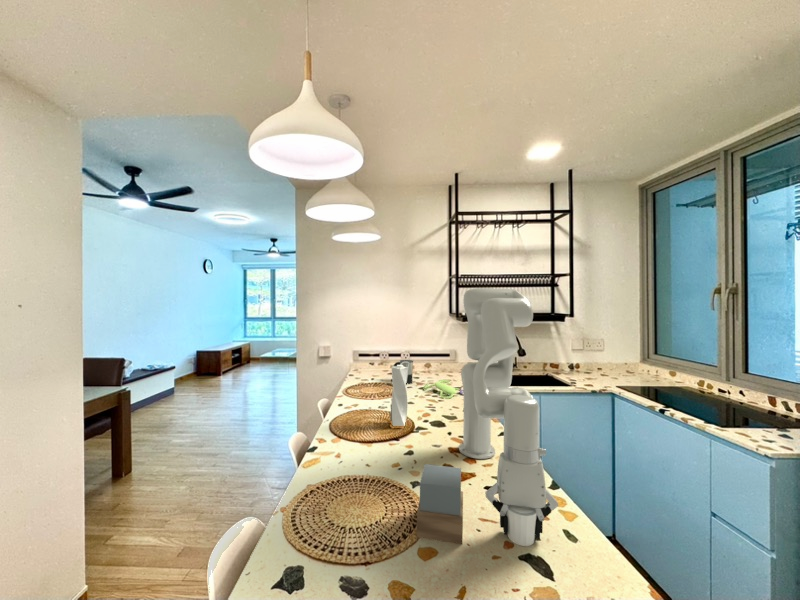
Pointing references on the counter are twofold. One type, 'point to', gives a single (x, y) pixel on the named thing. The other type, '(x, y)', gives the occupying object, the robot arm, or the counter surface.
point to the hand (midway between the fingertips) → (520, 531)
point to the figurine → (444, 388)
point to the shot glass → (521, 524)
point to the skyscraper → (399, 395)
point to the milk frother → (410, 369)
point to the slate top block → (440, 489)
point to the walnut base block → (440, 525)
